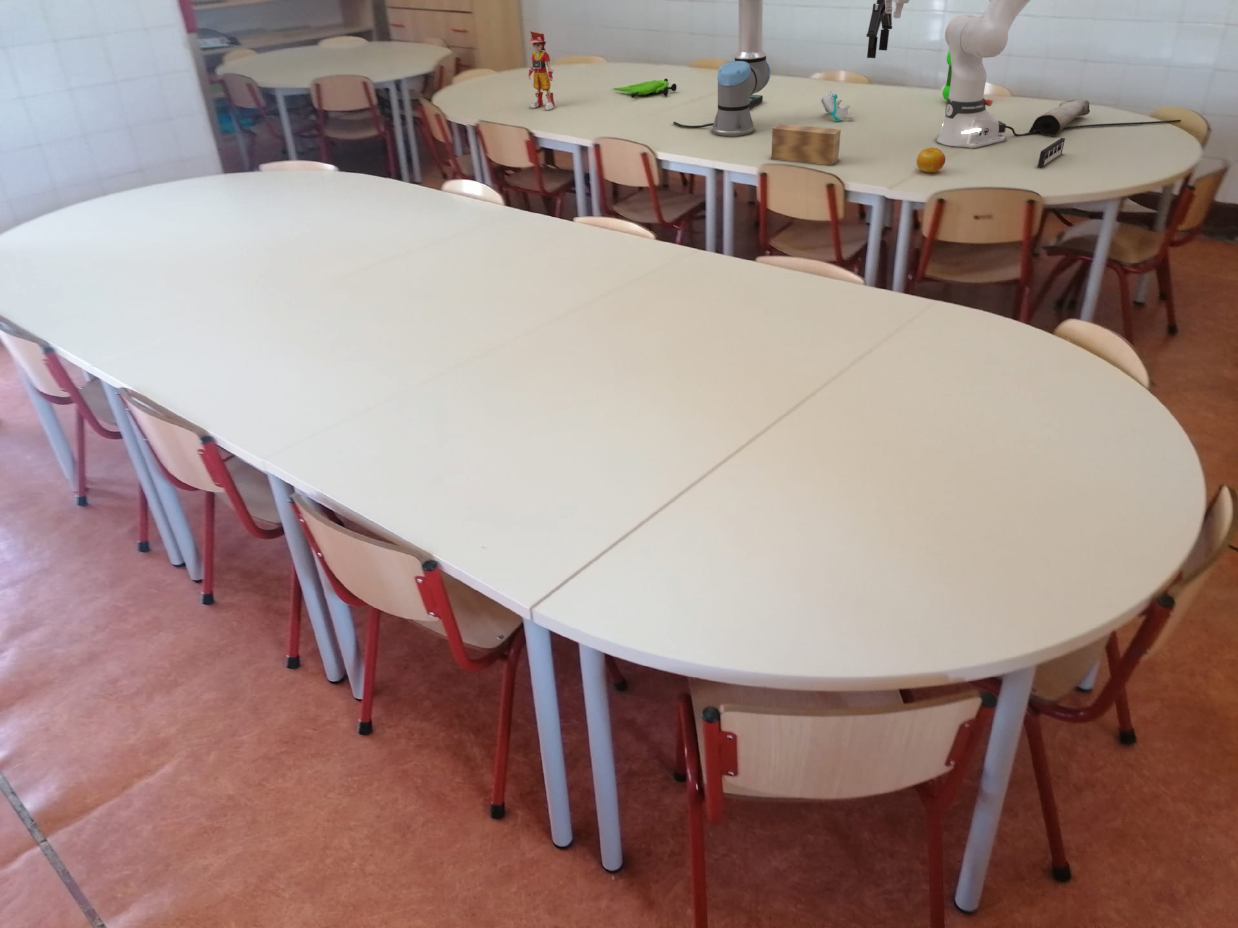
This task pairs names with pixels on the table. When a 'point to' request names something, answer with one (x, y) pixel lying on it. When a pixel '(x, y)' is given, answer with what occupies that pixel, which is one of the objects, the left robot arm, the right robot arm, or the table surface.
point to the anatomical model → (835, 107)
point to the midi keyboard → (1051, 152)
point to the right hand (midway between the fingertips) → (892, 15)
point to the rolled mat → (1060, 117)
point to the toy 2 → (648, 88)
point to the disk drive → (755, 100)
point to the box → (805, 144)
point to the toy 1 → (541, 71)
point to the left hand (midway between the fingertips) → (877, 54)
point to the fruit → (930, 160)
